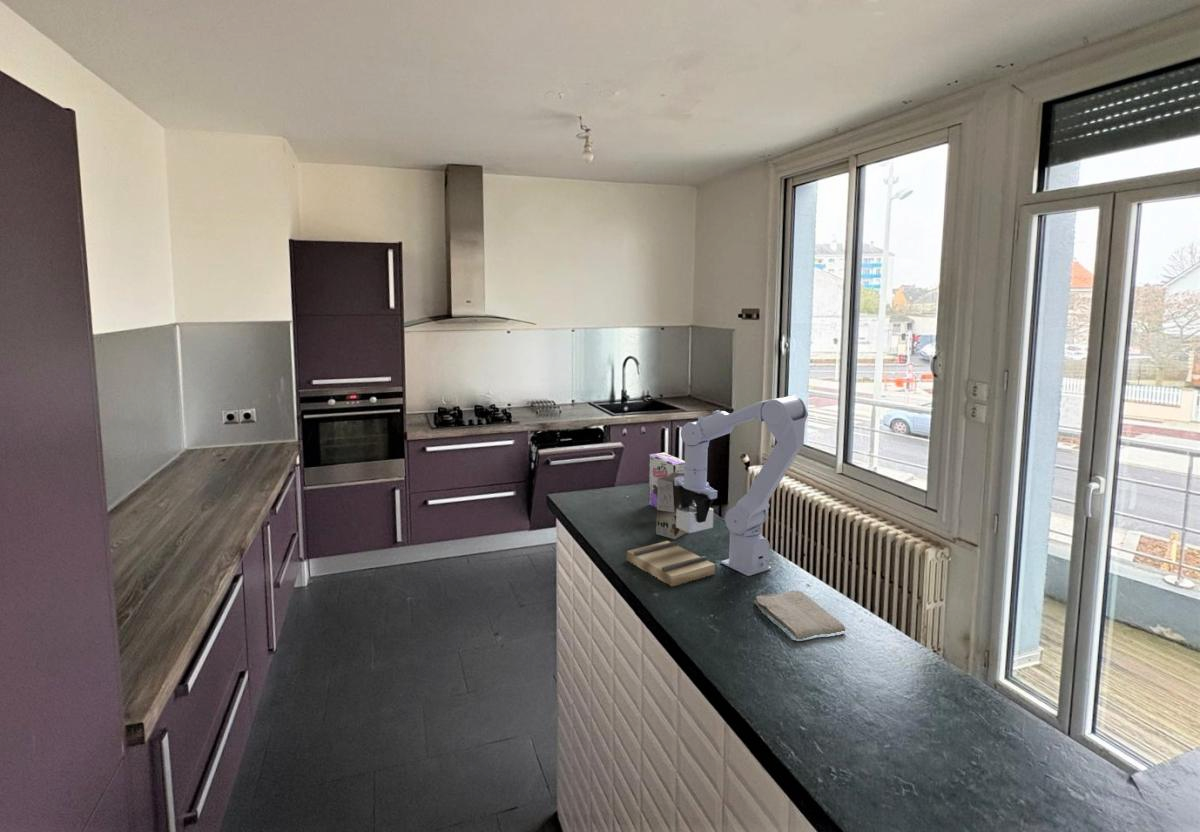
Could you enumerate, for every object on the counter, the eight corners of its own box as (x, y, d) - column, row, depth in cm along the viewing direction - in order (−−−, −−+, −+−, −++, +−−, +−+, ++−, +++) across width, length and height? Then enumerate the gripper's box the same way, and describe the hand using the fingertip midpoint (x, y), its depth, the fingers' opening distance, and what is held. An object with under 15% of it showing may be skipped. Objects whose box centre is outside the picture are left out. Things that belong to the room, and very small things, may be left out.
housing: (688, 533, 175) (689, 510, 174) (676, 527, 179) (676, 504, 178) (712, 527, 179) (713, 505, 178) (699, 521, 183) (700, 500, 182)
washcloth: (797, 598, 153) (798, 585, 153) (848, 637, 136) (849, 622, 136) (749, 605, 150) (750, 592, 149) (796, 646, 133) (797, 631, 132)
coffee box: (675, 539, 187) (677, 482, 183) (655, 534, 190) (656, 478, 187) (692, 530, 194) (694, 474, 191) (672, 525, 198) (674, 471, 194)
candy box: (647, 504, 216) (648, 453, 213) (663, 502, 219) (664, 451, 216) (672, 518, 204) (673, 464, 201) (688, 515, 207) (690, 461, 204)
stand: (714, 574, 165) (715, 561, 164) (672, 586, 158) (672, 573, 157) (667, 549, 180) (667, 537, 179) (626, 560, 173) (626, 547, 172)
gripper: (727, 471, 172) (725, 523, 175) (689, 459, 184) (688, 508, 187) (705, 475, 168) (703, 529, 171) (668, 463, 180) (667, 512, 183)
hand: (694, 518), depth 178 cm, fingers closed on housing, 5 cm apart
